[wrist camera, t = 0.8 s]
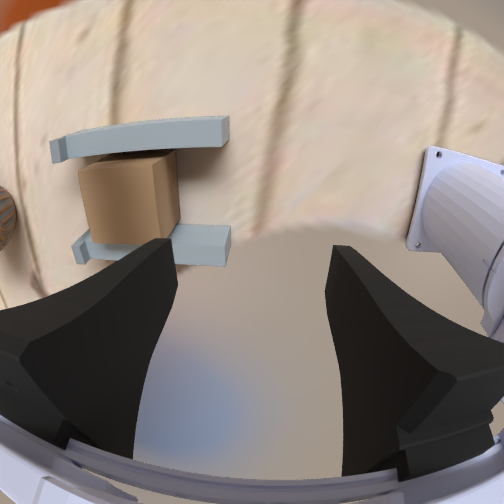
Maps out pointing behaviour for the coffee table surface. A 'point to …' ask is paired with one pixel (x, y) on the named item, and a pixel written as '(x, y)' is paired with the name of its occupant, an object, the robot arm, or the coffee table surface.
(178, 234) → the pair of lipped bars
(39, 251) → the coffee table surface
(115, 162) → the walnut block
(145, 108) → the coffee table surface
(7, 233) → the vase
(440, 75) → the coffee table surface
